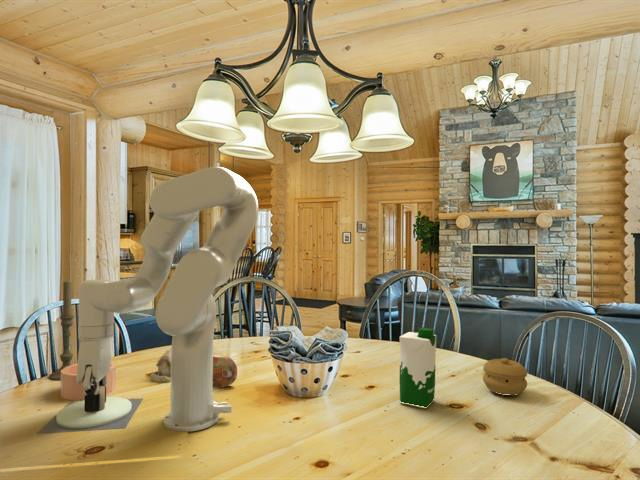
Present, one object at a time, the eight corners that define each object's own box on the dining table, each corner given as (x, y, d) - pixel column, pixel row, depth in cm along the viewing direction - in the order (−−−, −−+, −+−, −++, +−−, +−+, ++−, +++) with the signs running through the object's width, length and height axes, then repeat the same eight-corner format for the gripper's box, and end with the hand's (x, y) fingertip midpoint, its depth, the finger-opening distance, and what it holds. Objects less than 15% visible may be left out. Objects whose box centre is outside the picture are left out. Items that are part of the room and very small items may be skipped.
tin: (192, 381, 129) (193, 353, 129) (200, 378, 132) (200, 351, 132) (231, 389, 122) (232, 360, 122) (238, 386, 125) (239, 357, 125)
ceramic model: (172, 369, 141) (173, 339, 141) (202, 372, 138) (202, 341, 138) (143, 382, 128) (143, 349, 128) (175, 387, 124) (176, 352, 124)
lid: (138, 399, 112) (138, 376, 112) (121, 426, 96) (122, 398, 96) (71, 403, 109) (72, 379, 109) (43, 431, 93) (44, 402, 93)
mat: (143, 400, 113) (143, 398, 113) (125, 430, 96) (125, 427, 96) (69, 404, 110) (69, 402, 110) (36, 436, 92) (36, 433, 92)
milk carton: (428, 411, 108) (429, 333, 108) (395, 404, 113) (396, 328, 113) (438, 400, 116) (439, 327, 116) (406, 394, 121) (407, 323, 121)
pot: (484, 397, 119) (484, 361, 119) (481, 384, 130) (481, 351, 130) (530, 403, 115) (531, 366, 115) (523, 388, 126) (524, 355, 126)
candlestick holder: (52, 372, 135) (53, 278, 135) (85, 370, 139) (86, 277, 139) (45, 381, 127) (46, 281, 127) (80, 378, 130) (81, 280, 130)
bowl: (120, 384, 126) (120, 360, 126) (106, 400, 113) (106, 374, 113) (72, 386, 123) (72, 362, 123) (52, 403, 111) (53, 376, 111)
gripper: (91, 324, 110) (90, 395, 110) (65, 339, 94) (64, 422, 94) (122, 324, 112) (121, 393, 112) (102, 338, 95) (101, 420, 95)
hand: (95, 406), depth 103 cm, fingers closed on lid, 4 cm apart
